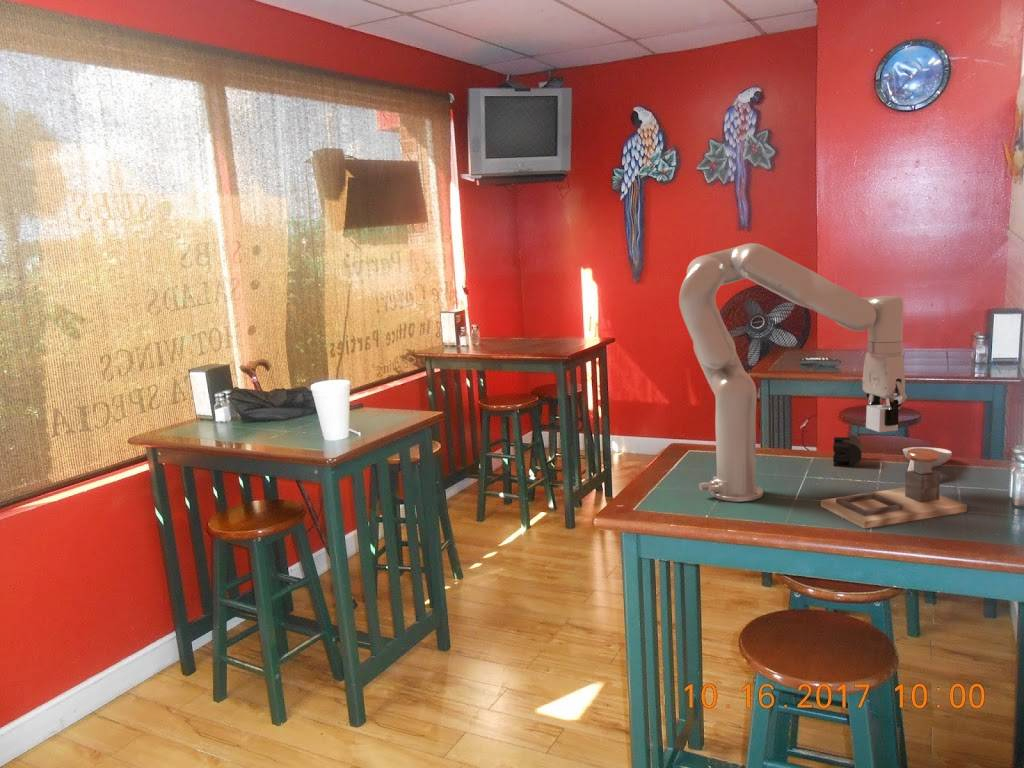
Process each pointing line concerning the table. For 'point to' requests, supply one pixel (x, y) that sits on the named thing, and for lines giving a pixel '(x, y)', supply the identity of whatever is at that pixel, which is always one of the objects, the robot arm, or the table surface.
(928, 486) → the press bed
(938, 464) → the spoon rest
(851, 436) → the end cap
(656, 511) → the table surface
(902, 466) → the table surface
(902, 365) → the robot arm
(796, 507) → the table surface
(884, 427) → the block
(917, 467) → the disc
